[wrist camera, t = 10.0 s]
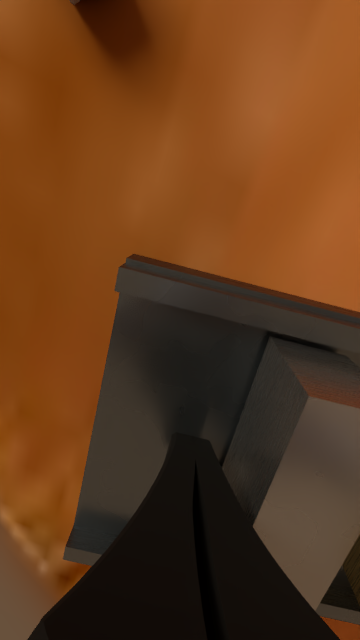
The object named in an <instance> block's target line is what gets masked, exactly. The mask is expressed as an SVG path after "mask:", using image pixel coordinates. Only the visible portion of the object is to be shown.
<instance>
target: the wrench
mask: <svg viewBox="0 0 360 640" xmlns="http://www.w3.org/2000/svg"><path fill="white" fill-rule="evenodd" d="M69 1H70V2H71V3H72V4H74V5H75V4H76V3H78V2H79V1H80V0H69Z"/></svg>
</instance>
